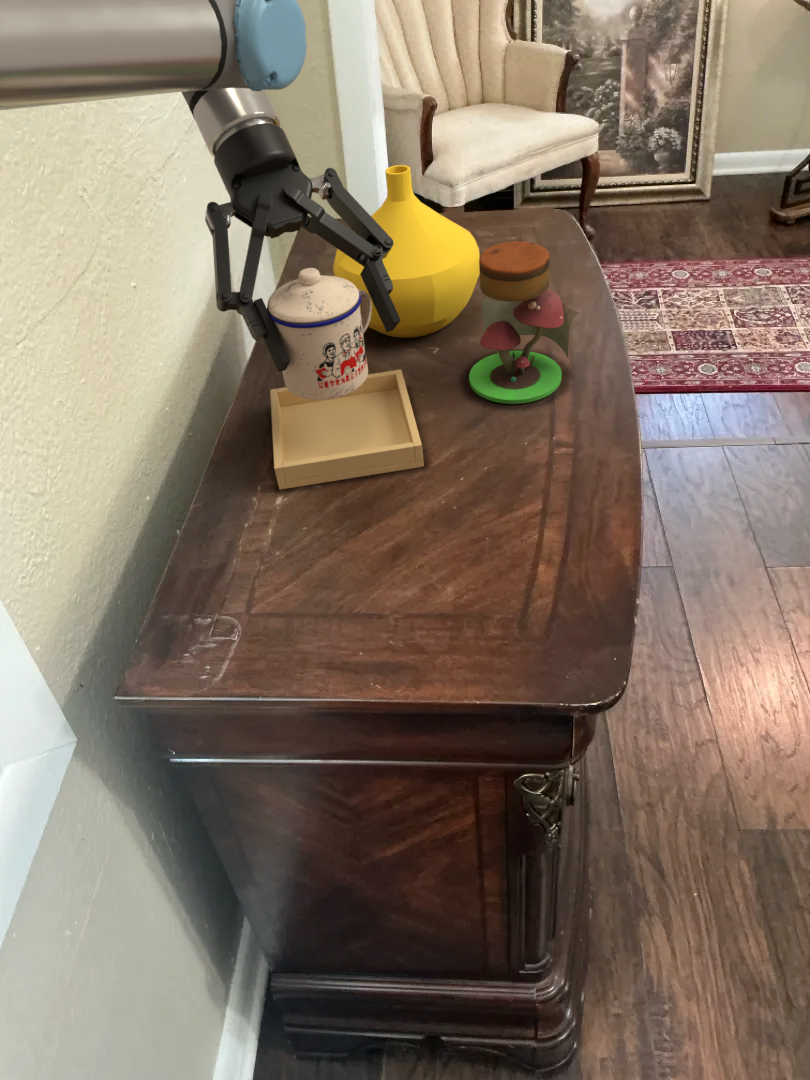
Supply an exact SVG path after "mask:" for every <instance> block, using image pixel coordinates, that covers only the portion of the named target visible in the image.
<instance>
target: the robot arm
mask: <svg viewBox="0 0 810 1080" xmlns="http://www.w3.org/2000/svg"><path fill="white" fill-rule="evenodd" d="M306 30H307V25H306V21H305V18H304V14H303V11H302V8H301V7H300V4H299V2H298V0H0V111H8V110H9V111H10V110H19V109H28V108H29V109H30V108H38V107H47V106H57V105H67V104H76V103H77V104H78V103H86V102H97V101H106V100H116V99H117V100H118V99H124V98H125V99H126V98H135V97H144V96H154V95H155V96H156V95H164V94H174V93H181V95H182V96H183V98H184V100H185V102H186V104H187V106H188V108H189V111H190V113H191V115H192V118H193V119H194V121H195V123H196V126H197V128H198V131H199V132H200V134H201V137H202V139H203V141H204V143H205V145H206V148H207V150H208V152H209V154H210V156H211V157H213V158H214V159H213V163H214V165H215V168H216V170H217V172H218V174H219V177H220V179H221V181H222V184H223V185H224V187H225V189H226V191H227V194H228V196H229V198H230V201H229V202H225V203H221V204H219V203H217V202H216V201H210V202H208V203H207V205H206V211H205V218H204V220H205V221H204V222H205V223H206V226H207V228H208V230H209V232H210V234H211V237H212V253H213V266H214V268H213V269H214V285H215V303H216V308H217V309H218V311H220V312H223V313H225V312H227V311H236V313H237V314H239V315H240V316H242V318H243V320H244V322H245V325H246V327H247V329H248V331H249V334H250V336H251V338H252V339H253V340H254V341H255V342H259V341H261V340H264V343H265V345H266V347H267V349H268V352H269V354H270V356H271V358H272V361H273V362H274V364H275V367H276V369H277V372H278V373H281V372H282V371H284V370H286V369H287V367H288V365H289V363H290V358H289V356H288V354H287V352H286V350H285V347H284V345H283V343H282V341H281V339H280V337H279V334H278V332H277V330H276V328H275V326H274V323H273V321H272V319H271V317H270V315H269V313H268V310H267V306H266V304H265V302H264V300H263V298H262V297H260V298H258V299H254V300H253V297H254V296H253V295H254V292H255V291H254V290H255V286H256V281H257V275H258V271H259V265H260V259H261V254H262V249H263V245H264V239H265V237H268V238H270V239H275V238H278V237H280V236H281V235H283V234H285V233H294V232H297V231H300V230H301V228H302V229H304V230H305V231H307V232H308V233H311V234H316V235H317V236H318V237H320V238H321V239H322V240H323V241H326V242H327V243H329V244H330V245H331V246H333V247H334V248H336V250H337V249H339V250H340V251H342V252H343V253H345V254H346V255H347V256H349V257H350V258H352V259H353V260H355V261H356V262H358V263H359V264H361V265H362V266H363V267H364V268H363V270H362V272H361V274H360V275H361V277H362V279H363V282H364V284H365V286H366V288H367V290H368V292H369V295H370V297H371V299H372V301H373V303H374V306H375V308H376V310H377V312H378V314H379V316H380V319H381V321H382V323H383V325H384V327H385V329H386V332H390V331H392V330H394V329H395V327H396V326H397V325H398V323H399V322H400V321H401V319H400V317H399V315H398V313H397V311H396V309H395V306H394V304H393V302H392V300H391V298H390V295H389V294H390V293H391V291H392V290H393V283H392V281H391V279H390V277H389V275H388V272H387V270H386V268H385V266H384V264H383V261H382V259H383V258H385V257H386V256H387V255H388V253H389V251H390V250H391V248H392V246H393V244H394V242H393V240H392V238H391V237H390V236H389V235H388V234H387V233H386V232H385V231H384V230H383V229H382V228H381V227H380V225H379V224H378V223H377V222H376V221H375V220H374V219H373V218H372V217H371V216H372V215H371V214H370V213H368V211H367V210H366V209H365V208H364V207H363V206H362V205H361V204H360V203H359V202H358V201H357V199H355V198H354V197H353V195H352V194H351V193H350V192H349V191H348V190H347V189H346V188H345V187H344V185H343V182H342V181H341V178H340V177H339V175H338V173H337V171H336V169H335V168H333V167H328V168H326V169H325V171H324V173H323V174H320V175H317V176H315V177H311V178H310V177H308V176H307V174H305V173H304V172H303V171H302V169H301V166H300V164H299V160H298V158H297V156H296V154H295V152H294V150H293V147H292V145H291V143H290V141H289V139H288V136H287V134H286V133H285V130H284V129H283V128H282V127H281V121H280V118H279V117H278V114H277V112H276V111H275V108H274V106H273V104H272V102H271V99H270V98H269V95H268V94H267V91H266V90H268V91H269V90H271V91H278V90H282V89H286V88H287V87H289V86H290V85H292V84H293V83H294V82H295V80H296V79H297V78H298V77H299V75H300V73H301V71H302V70H303V66H304V63H305V60H306V53H307V46H308V45H307V40H306V39H307V35H306ZM313 193H316V194H317V195H318V196H319V197H320V199H321V200H323V201H325V200H326V201H327V203H328V204H329V207H330V208H331V209H332V210H333V211H334V212H335V213H336V214H337V215H338V216H339V218H341V220H343V222H344V223H345V224H346V225H345V224H344V223H342V222H340V221H339V220H337V219H336V218H335V217H333V216H332V215H330V214H329V213H327V212H326V210H325V208H324V207H323V206H322V205H321V204H319V203H317V202H316V201H315V200H314V199H312V196H313ZM232 217H234V218H235V219H236V220H239V221H240V222H242V223H243V224H245V225H246V226H248V227H249V228H250V229H251V231H250V234H249V240H248V246H247V251H246V255H245V256H246V257H245V261H244V266H243V272H242V277H241V282H240V286H239V291H232V275H231V261H230V245H229V228H230V227H231V225H232V224H231V223H232ZM347 226H348V227H347Z"/></svg>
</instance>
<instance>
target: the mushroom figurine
mask: <svg viewBox="0 0 810 1080" xmlns="http://www.w3.org/2000/svg"><path fill="white" fill-rule="evenodd" d="M479 255H480V257H479V270H480V274H479V289H480V291H481V293H482V294H483V295H484V296H486V297H485V298H483V299H481V306H482V309H481V310H482V311H481V312H482V319H483V327H482V328H483V330H482V336H481V337H480V338H481V339H480V340H479V344H480V346H481V347H482V348H485V349H489V350H494V351H497V353H493V354H491V355H487V356H485V357H483V358H482V359H480V360H478V361H477V362H476V363H475V364H474V365H473V366H472V367H471V369H470V371H469V373H468V374H469V375H468V381H469V386H470V388H471V389H472V391H473V392H474V393H475V394H476V395H478V396H479V397H481V398H482V399H485V400H487V401H491V402H495V403H498V404H507V405H520V404H529V403H532V402H536V401H539V400H542V399H545V398H546V397H548V396H550V395H552V394H553V393H554V392H555V391H557V389H558V388H559V387H560V386H561V382H562V376H563V375H562V373H563V372H562V369H561V367H560V365H559V364H558V363H557V362H556V361H555V360H554V359H553V358H551V357H549V356H547V355H544V354H542V353H539V352H534V351H532V348H533V346H534V345H535V344H537V343H538V342H539V340H540V339H541V338H542V337H545V338H548V339H550V340H552V341H553V342H554V343H556V344H557V345H558V346H559V348H561V350H562V351H563V352H564V354H565V356H566V357H567V358H569V338H570V329H571V325H572V323H573V321H574V318H575V317H576V316H578V315H580V312H578V311H576V310H573V309H572V308H570V307H567V306H566V305H565V304H563V302H562V299H561V298H560V296H559V294H557V293H556V292H554V291H552V290H551V289H549V287H550V261H551V260H550V253H549V251H548V249H546V248H545V247H544V246H542V245H540V244H537V243H534V242H530V241H522V240H521V241H506V242H500V243H497V244H494V245H492V246H489V247H488V248H486V249H484V251H482V252H481V254H479ZM521 336H533V337H532V339H530V340H529V341H528V342H527V343H526V345H525V346H524V348H523V350H513V349H515V348H517V347H518V346H519V345H520V344H521V342H522V340H521Z"/></svg>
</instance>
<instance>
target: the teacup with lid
mask: <svg viewBox="0 0 810 1080" xmlns="http://www.w3.org/2000/svg"><path fill="white" fill-rule="evenodd" d="M360 303H361V311H360ZM266 305H267V306H266V308H267V310H268V313H269V315H270V317H271V319H272V321H273V323H274V326H275V328H276V330H277V332H278V334H279V337H280V339H281V341H282V343H283V345H284V347H285V350H286V352H287V354H288V356H289V358H290V363H289V365H288V367H287V369H286V370H284V371H281V372H282V376H283V382H284V385H285V387H287V389H288V390H289V391H290V392H291V393H292V394H294V395H296V396H298V397H300V398H304V399H308V400H330V399H335V398H339V397H342V396H345V395H347V394H350V393H351V392H353V391H355V390H356V389H358V388H359V387H360V386H361V385H362V384H363V383H364V382H365V380H366V378H367V375H368V374H369V367H368V359H367V349H366V344H365V337H364V334H365V332H366V331H367V329H368V328H369V327H368V325H369V322H370V318H371V312H372V304H371V299H370V296H369V294H368V293H367V292H365V291H363V290H361V289H357V288H356V286H355V285H354V284H353V283H351V282H350V281H348V280H346V279H343V278H340V277H335V276H334V275H322V274H321V273H320V271H319V270H318V269H317V268H315V267H307V268H304V269H301V270H300V271H299V273H298V278H297V279H294V280H291V281H288V282H286V283H284V284H283V285H281V286H279V287H278V288H276V289H275V290H274V291H273V292H272V294H271V295H270V296H269V297H268V300H267V304H266Z"/></svg>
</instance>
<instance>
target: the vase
mask: <svg viewBox="0 0 810 1080" xmlns="http://www.w3.org/2000/svg"><path fill="white" fill-rule="evenodd" d="M411 171H412V169H411V167H410V166H409V165H407V164H406V165H405V164H398V165H392V166H388V167H386V169H385V172H384V173H385V181H386V190H387V191H386V198H385V200H384V201H383V202H382V204H381V206H380V207H379V208H377V210H375V211H374V213H372V214H371V215H370V216H371V217H372V218H373V219H374V220H375V221H376V222H377V223H378V224H379V225H380V227H381V228H382V229H383V230H384V231H385V232H386V233H387V234H388V235H389V236H390V237H391V238H392V240H393V242H394V244H393V246H392V248H391V250H390V251H389V253H388V255H387V256H386V257H385V258H383V259H382V261H383V264H384V266H385V268H386V270H387V272H388V275H389V277H390V279H391V281H392V283H393V290H392V291H391V293H390V294H389V295H390V298H391V300H392V302H393V304H394V306H395V309H396V311H397V313H398V315H399V317H400V319H401V321H400V322H399V323H398V325H397V326H396V327H395V329H394V330H392V331H390V332H386V329H385V327H384V325H383V323H382V321H381V319H380V316H379V314H378V312H377V310H376V308H375V306H374V303H373V301H372V299H371V297H370V299H371V304H372V312H371V318H370V322H369V325H368V327H367V328H369V329H372V330H374V331H376V332H378V333H380V334H383V335H385V336H389V337H393V338H398V339H399V338H402V339H409V338H412V339H413V338H420V337H424V336H428V335H431V334H434V333H436V332H438V331H439V330H441V329H442V330H443V328H445V327H446V326H447V325H449V324H451V323H452V322H453V321H454V320H455V319H456V318H457V317H458V316H459V315H460V314H461V312H462V311H463V310H464V309H465V307H466V306H467V305H468V303H469V301H470V299H471V297H472V295H473V293H474V290H475V288H476V285H477V282H478V279H479V278H480V270H479V257H480V255H481V254H480V248H479V246H478V243H477V241H476V238H475V237H474V235H473V234H472V233H471V232H470V230H468V229H466V228H464V227H462V226H461V225H459V224H458V223H456V222H454V221H452V220H450V219H449V218H447V217H445V216H444V215H442V214H440V213H438V212H437V211H435V210H434V209H433V208H431V207H430V206H428V205H427V204H425V203H423V202H421V200H420V199H419V198H418V197H417V196H416V195H415V193H414V190H413V182H412V172H411ZM333 261H334V262H333V266H332V271H333V276H335V277H340V278H343V279H346V280H348V281H350V282H351V283H353V284H354V285H355V286H356V288H357V289H361V290H363V291H365V292H367V293H368V294H369V292H368V290H367V288H366V286H365V284H364V282H363V279H362V277H361V275H360V274H361V272H362V270H363V268H364V267H363V266H362V265H361V264H359V263H358V262H356V261H355V260H353V259H352V258H350V257H349V256H347V255H346V254H345V253H343V252H342V251H340V250H339V249H337V248H336V251H335V256H334V260H333ZM369 296H370V295H369ZM360 311H361V303H360Z"/></svg>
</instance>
